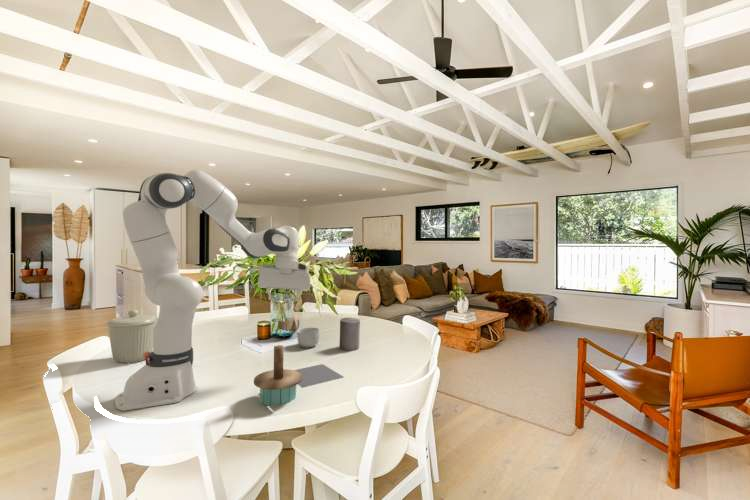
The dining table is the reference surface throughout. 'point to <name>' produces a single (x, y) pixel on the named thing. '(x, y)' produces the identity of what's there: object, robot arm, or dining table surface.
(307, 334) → the teacup
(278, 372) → the lid
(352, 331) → the pillar candle
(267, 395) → the bowl
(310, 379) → the mat
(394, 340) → the dining table surface
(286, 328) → the ornament
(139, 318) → the canister
